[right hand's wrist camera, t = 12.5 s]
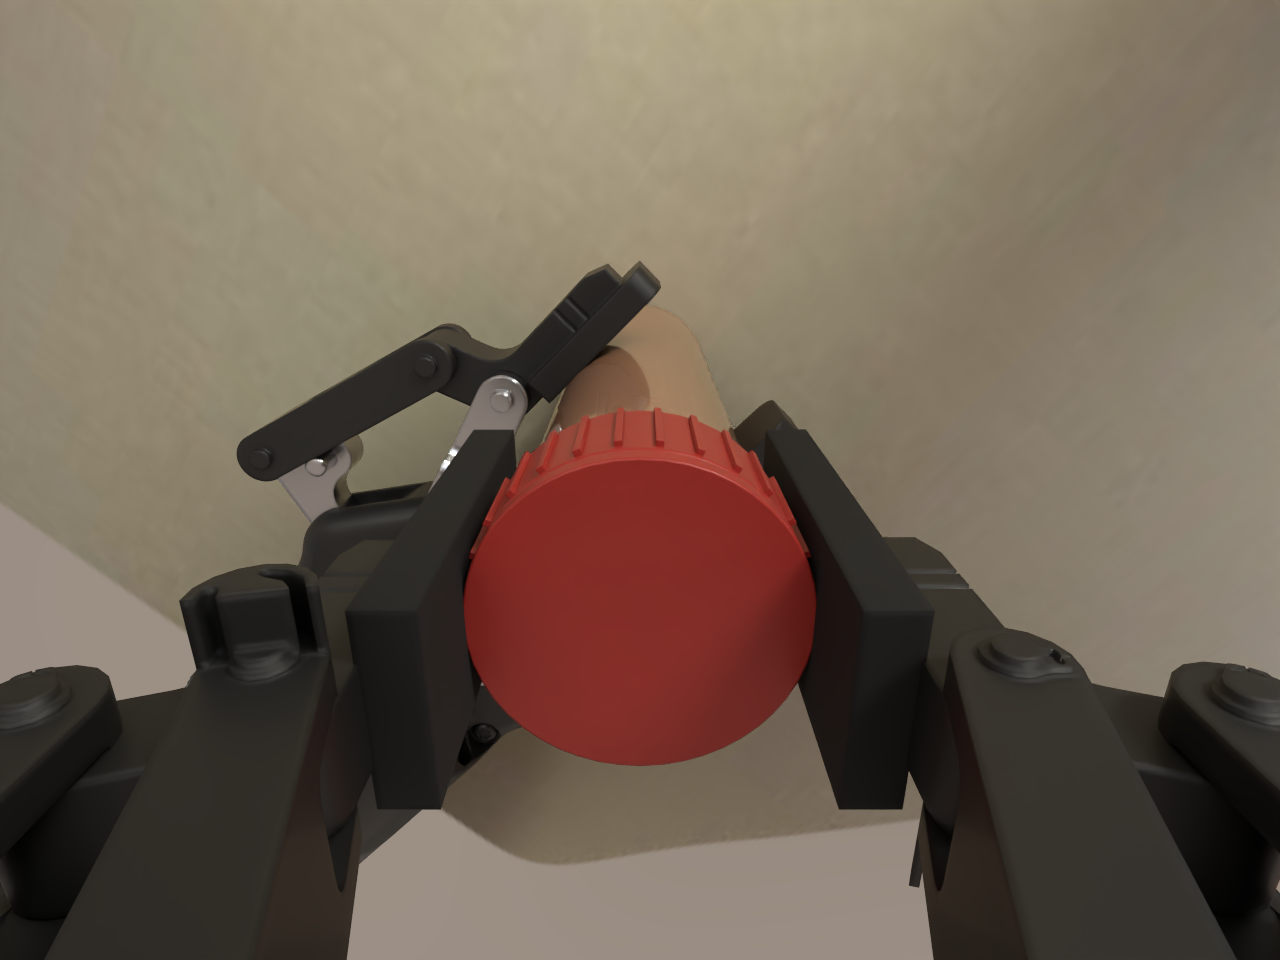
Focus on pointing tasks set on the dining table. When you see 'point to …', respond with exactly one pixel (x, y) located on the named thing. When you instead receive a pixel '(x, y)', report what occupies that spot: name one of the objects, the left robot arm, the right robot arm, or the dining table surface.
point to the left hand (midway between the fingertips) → (717, 349)
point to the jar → (645, 376)
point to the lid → (639, 591)
